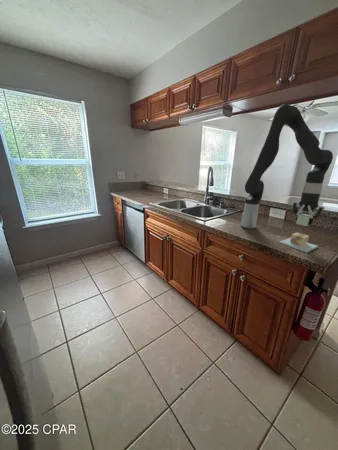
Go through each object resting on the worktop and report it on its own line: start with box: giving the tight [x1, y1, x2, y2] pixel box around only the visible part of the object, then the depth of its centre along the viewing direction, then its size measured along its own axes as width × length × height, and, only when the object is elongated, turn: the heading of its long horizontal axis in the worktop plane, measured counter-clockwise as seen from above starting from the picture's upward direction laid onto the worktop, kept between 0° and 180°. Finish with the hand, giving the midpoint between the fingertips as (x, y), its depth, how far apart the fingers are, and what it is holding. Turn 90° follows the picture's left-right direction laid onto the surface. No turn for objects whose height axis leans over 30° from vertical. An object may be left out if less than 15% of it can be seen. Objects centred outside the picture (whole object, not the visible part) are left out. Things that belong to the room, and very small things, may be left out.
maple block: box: [290, 232, 310, 247], centre depth 103 cm, size 6×6×5 cm
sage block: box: [296, 213, 310, 227], centre depth 99 cm, size 5×5×5 cm
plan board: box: [279, 236, 319, 253], centre depth 104 cm, size 14×12×1 cm
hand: (303, 223), depth 100 cm, fingers closed on sage block, 5 cm apart
